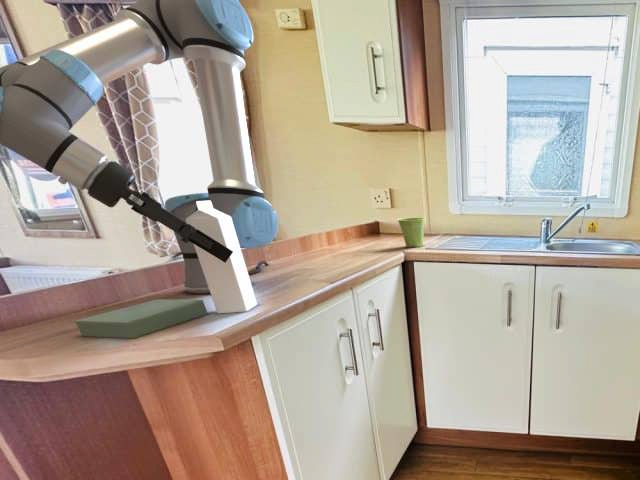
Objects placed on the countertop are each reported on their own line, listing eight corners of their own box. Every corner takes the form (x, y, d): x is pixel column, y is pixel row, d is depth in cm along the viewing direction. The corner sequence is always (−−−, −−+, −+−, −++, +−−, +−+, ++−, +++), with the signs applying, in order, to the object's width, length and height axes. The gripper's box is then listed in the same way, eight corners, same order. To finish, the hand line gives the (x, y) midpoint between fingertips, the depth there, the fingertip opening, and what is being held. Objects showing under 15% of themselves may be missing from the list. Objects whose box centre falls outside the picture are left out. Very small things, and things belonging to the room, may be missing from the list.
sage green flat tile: (162, 312, 93) (157, 299, 91) (207, 313, 90) (202, 299, 89) (82, 336, 79) (74, 320, 77) (133, 338, 76) (126, 322, 75)
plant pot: (395, 248, 179) (391, 220, 174) (410, 244, 189) (406, 217, 184) (420, 248, 176) (416, 219, 171) (433, 244, 186) (430, 217, 181)
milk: (257, 305, 96) (227, 199, 87) (246, 311, 91) (213, 200, 81) (229, 306, 95) (195, 200, 86) (216, 313, 90) (178, 201, 80)
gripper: (92, 193, 82) (208, 262, 97) (75, 192, 64) (221, 276, 79) (115, 163, 83) (227, 235, 98) (104, 153, 65) (244, 243, 80)
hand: (225, 254), depth 88 cm, fingers open, 13 cm apart
